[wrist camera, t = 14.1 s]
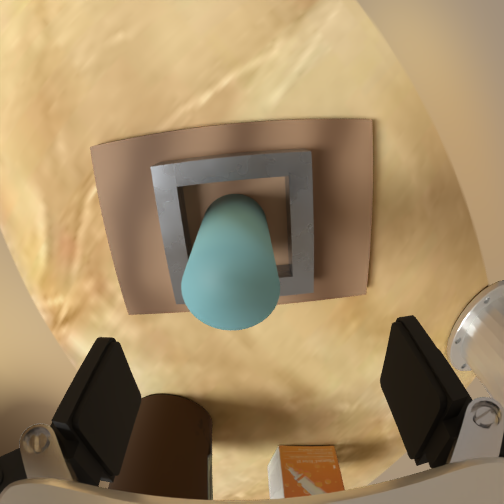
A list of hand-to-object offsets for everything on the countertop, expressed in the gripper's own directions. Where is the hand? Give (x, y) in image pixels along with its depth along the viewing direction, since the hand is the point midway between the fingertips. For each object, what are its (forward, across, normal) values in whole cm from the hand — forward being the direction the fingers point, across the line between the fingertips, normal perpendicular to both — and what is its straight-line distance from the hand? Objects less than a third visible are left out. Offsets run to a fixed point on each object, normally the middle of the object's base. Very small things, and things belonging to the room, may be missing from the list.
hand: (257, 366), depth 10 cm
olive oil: (+15, +11, +22) cm, 29 cm away
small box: (+16, -4, +33) cm, 37 cm away
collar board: (+15, +1, -1) cm, 15 cm away
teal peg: (+14, +1, 0) cm, 14 cm away
